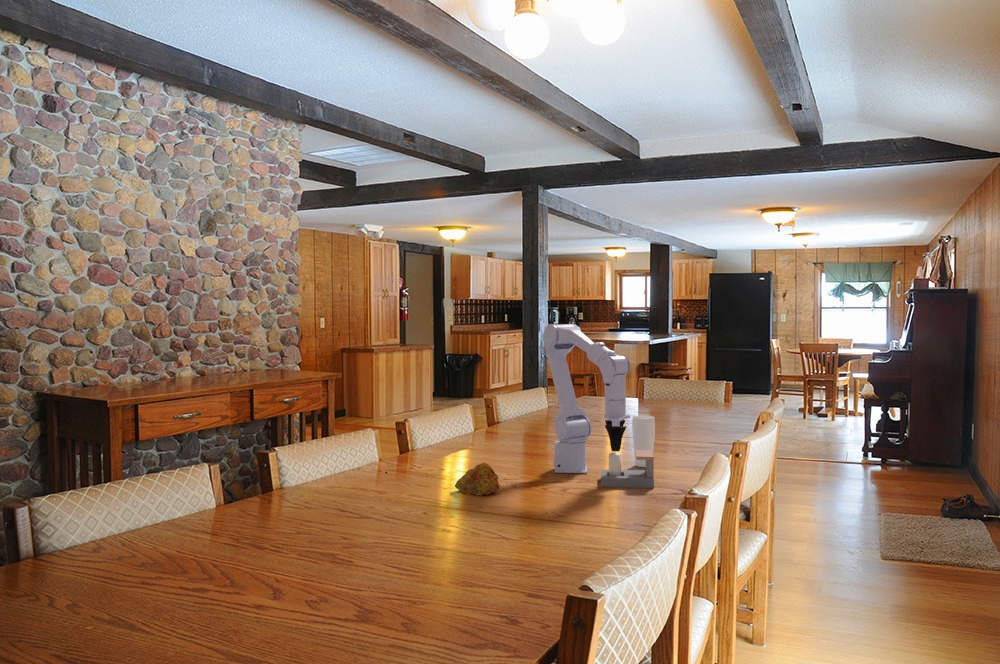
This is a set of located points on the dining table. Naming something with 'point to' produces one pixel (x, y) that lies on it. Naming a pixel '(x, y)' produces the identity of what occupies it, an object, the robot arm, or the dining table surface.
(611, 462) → the peg
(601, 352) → the robot arm
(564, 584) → the dining table surface
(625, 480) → the socket station
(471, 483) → the rock
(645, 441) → the cream rounded cylinder
